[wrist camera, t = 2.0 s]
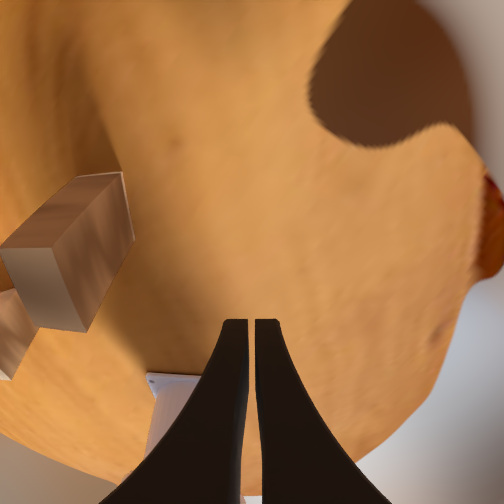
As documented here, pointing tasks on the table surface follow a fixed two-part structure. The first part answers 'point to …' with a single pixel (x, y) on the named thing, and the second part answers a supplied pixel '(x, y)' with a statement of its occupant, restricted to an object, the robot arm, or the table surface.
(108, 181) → the walnut block
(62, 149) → the table surface
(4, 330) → the maple block
